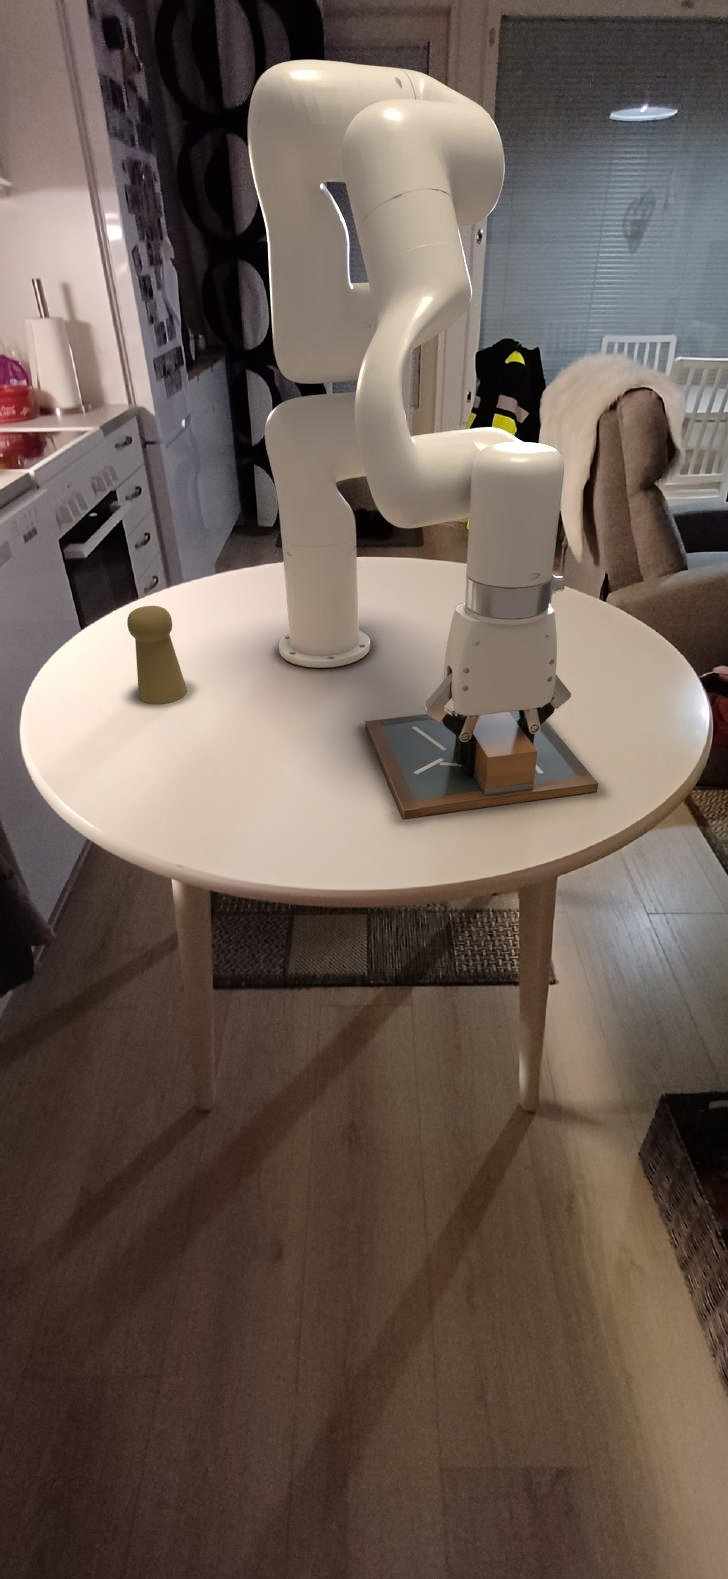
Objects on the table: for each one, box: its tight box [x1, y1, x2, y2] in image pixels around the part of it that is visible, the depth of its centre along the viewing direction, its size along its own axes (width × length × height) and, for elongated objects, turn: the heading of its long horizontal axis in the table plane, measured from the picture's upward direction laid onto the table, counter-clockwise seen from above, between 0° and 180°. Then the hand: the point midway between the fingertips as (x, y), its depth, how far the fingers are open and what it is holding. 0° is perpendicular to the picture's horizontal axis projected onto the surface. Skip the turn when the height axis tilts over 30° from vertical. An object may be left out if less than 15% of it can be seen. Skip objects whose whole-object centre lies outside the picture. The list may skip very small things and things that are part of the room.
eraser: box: [472, 712, 538, 795], centre depth 79 cm, size 10×5×4 cm, turn 11°
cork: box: [126, 605, 188, 705], centre depth 94 cm, size 6×6×11 cm
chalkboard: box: [364, 710, 599, 819], centre depth 83 cm, size 18×20×1 cm
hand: (492, 763), depth 80 cm, fingers closed on eraser, 5 cm apart
